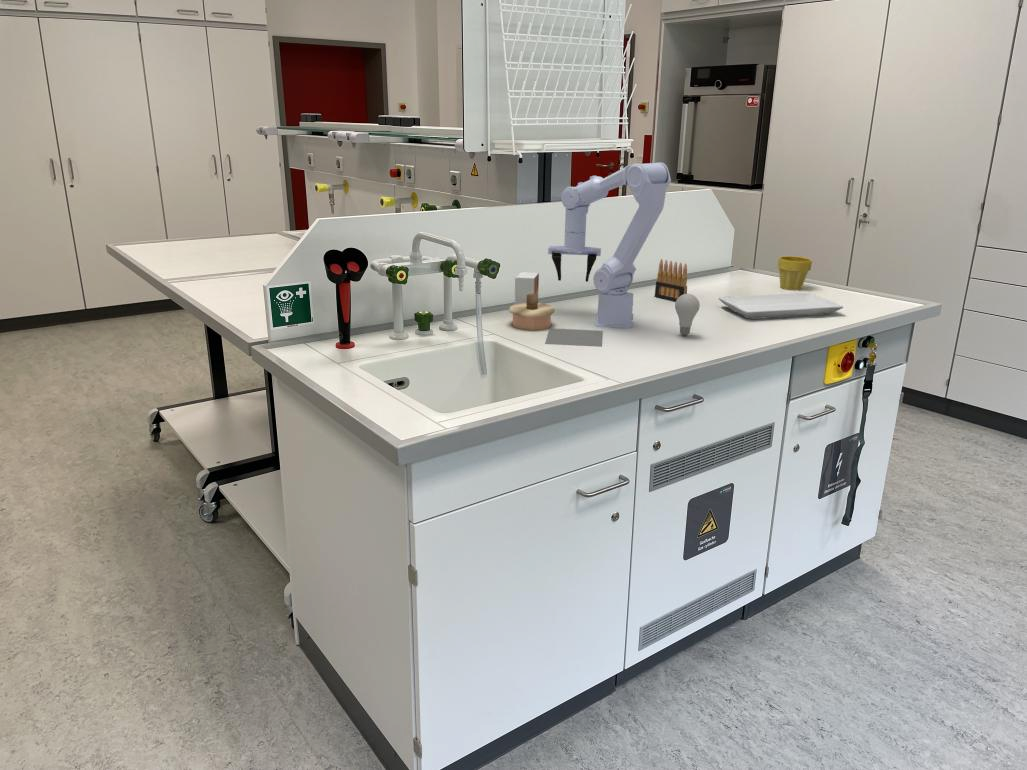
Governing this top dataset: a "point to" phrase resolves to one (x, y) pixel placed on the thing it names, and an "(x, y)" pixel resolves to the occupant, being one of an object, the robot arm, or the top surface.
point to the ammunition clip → (671, 281)
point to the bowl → (531, 322)
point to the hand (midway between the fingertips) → (573, 280)
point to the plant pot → (793, 271)
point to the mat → (574, 337)
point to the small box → (525, 286)
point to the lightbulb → (686, 311)
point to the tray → (780, 305)
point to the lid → (532, 308)
